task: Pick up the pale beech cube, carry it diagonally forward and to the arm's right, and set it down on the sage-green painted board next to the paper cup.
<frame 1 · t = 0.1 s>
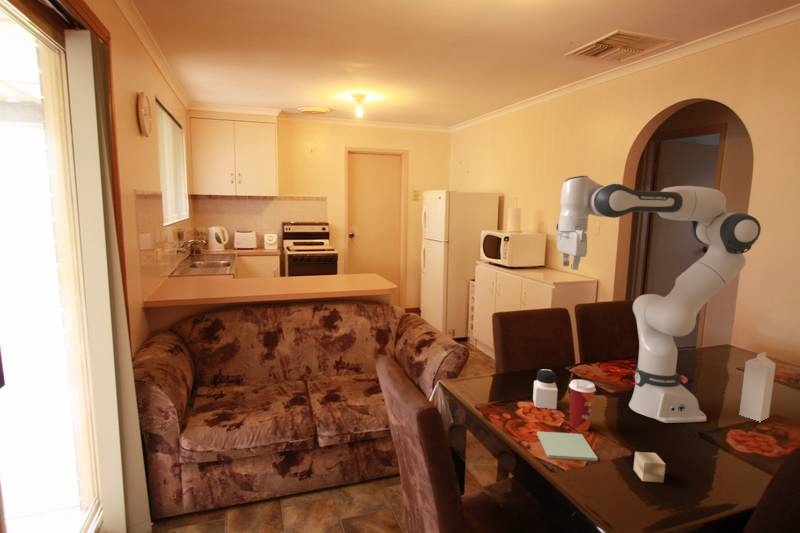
hand: (569, 267, 146), 48 cm above the table, fingers open, 8 cm apart
medicine bottle: (544, 405, 152), on the table
board: (565, 446, 124), on the table
paper cup: (579, 426, 137), on the table
milk: (753, 417, 146), on the table
cube: (648, 476, 111), on the table
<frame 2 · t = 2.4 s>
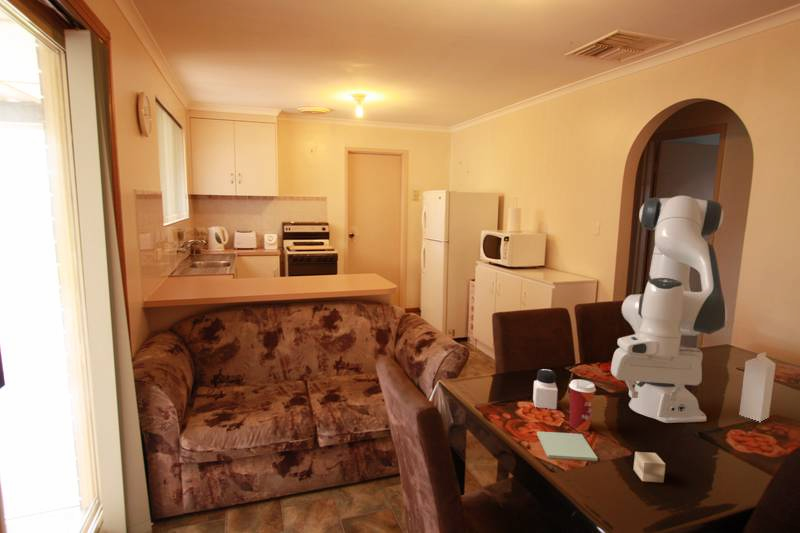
hand: (652, 398, 109), 20 cm above the table, fingers open, 8 cm apart
nothing on the table moved.
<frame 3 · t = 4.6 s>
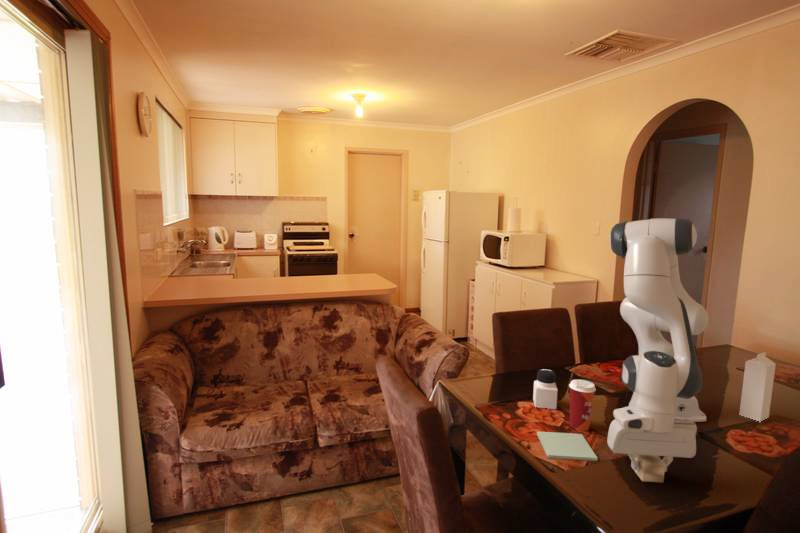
hand: (648, 469, 111), 2 cm above the table, fingers closed on cube, 5 cm apart
cube: (648, 476, 111), on the table, touching gripper
everything else where it was.
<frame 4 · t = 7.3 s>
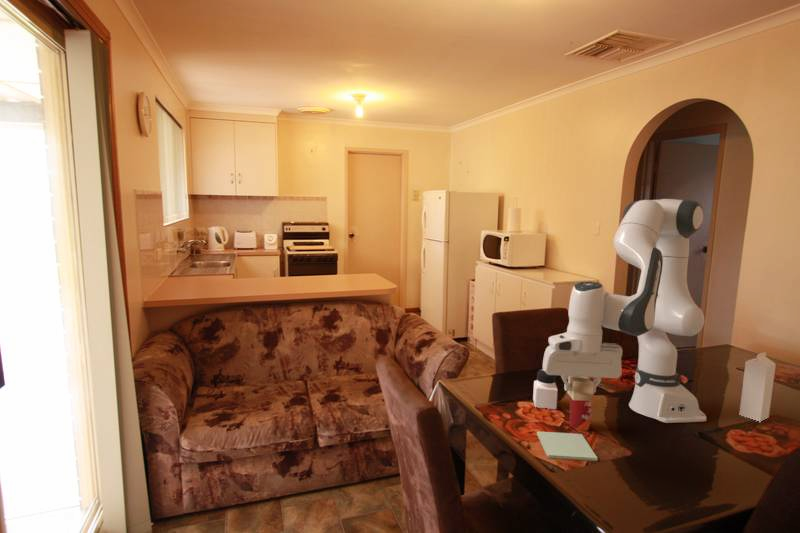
hand: (579, 391, 120), 17 cm above the table, fingers closed on cube, 5 cm apart
cube: (579, 396, 120), point 16 cm above the table, touching gripper
everything else where it was.
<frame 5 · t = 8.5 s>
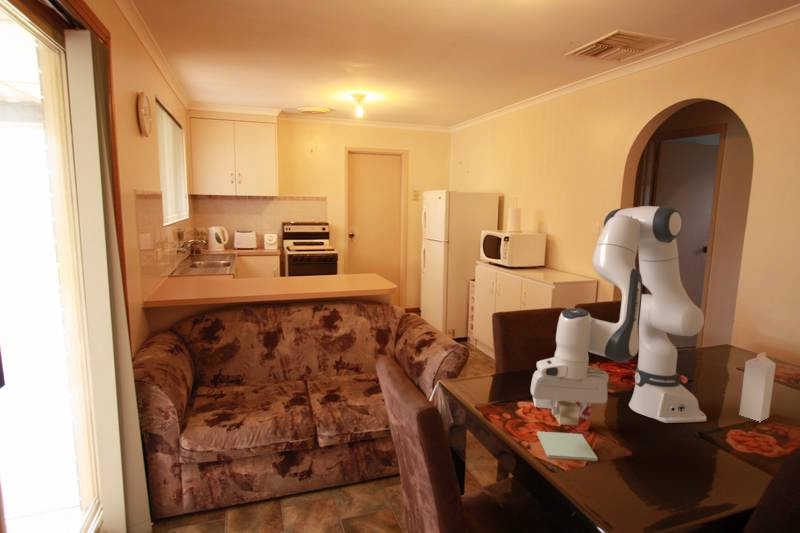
hand: (566, 415, 123), 9 cm above the table, fingers closed on cube, 5 cm apart
cube: (566, 420, 123), point 8 cm above the table, touching gripper
everything else where it was.
when the fingers open (4 cm above the table, at t = 9.5 s): cube drops 2 cm, resting on board.
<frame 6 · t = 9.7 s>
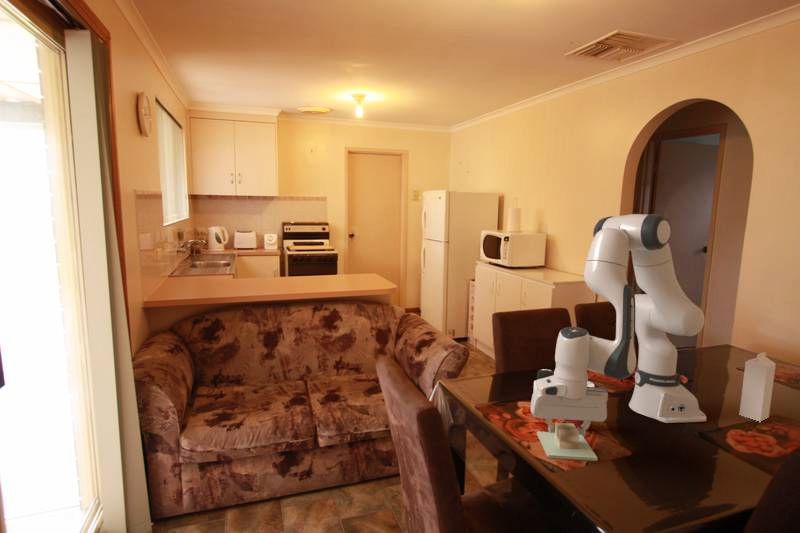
hand: (566, 432, 124), 4 cm above the table, fingers open, 7 cm apart
cube: (565, 444, 124), point 1 cm above the table, touching board
everything else where it was.
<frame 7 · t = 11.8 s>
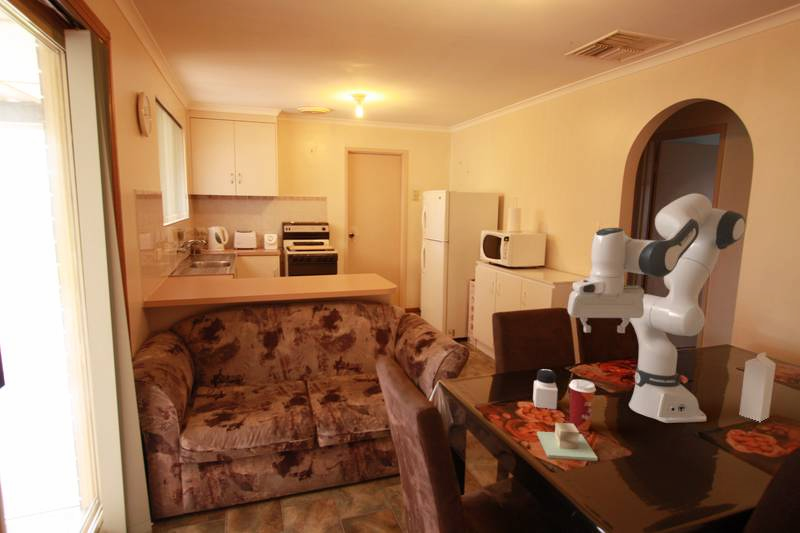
hand: (603, 332, 127), 32 cm above the table, fingers open, 8 cm apart
nothing on the table moved.
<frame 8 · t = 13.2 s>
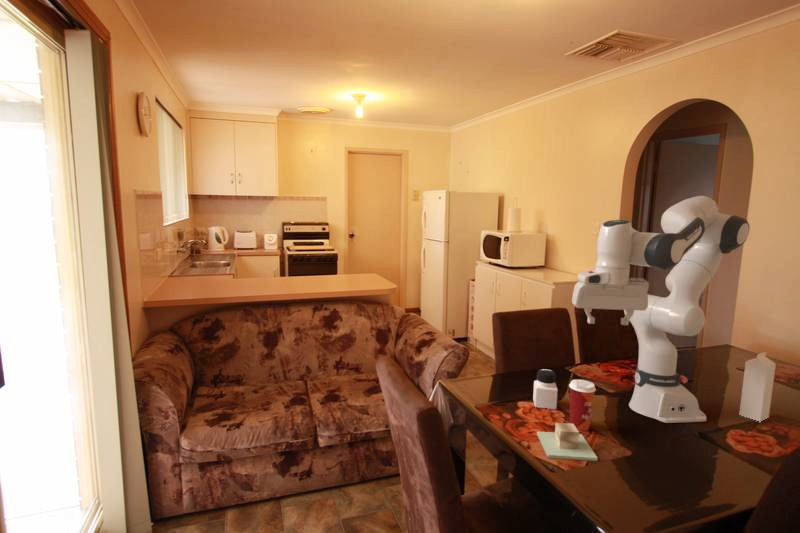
hand: (607, 324, 127), 34 cm above the table, fingers open, 8 cm apart
nothing on the table moved.
at the end: cube inside the target area on the board (0.1 cm from its centre), point 0.8 cm above the board's base; cube tilted 0°; the gripper is holding nothing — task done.
